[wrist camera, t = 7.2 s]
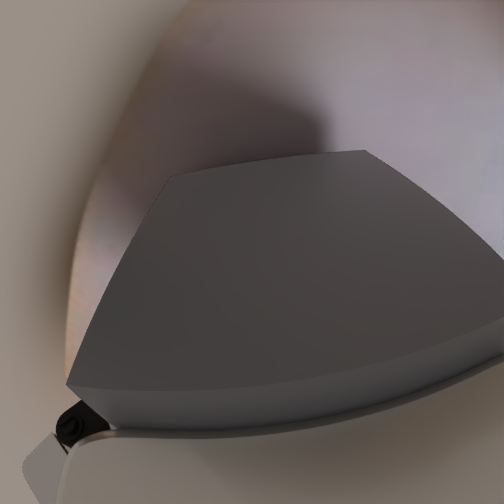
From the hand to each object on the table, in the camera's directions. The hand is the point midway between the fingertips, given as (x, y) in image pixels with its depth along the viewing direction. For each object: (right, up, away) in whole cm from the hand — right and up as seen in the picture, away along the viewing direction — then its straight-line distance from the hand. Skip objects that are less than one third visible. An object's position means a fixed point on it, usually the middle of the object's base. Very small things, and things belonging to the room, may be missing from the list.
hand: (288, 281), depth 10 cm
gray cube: (0, +1, +2) cm, 2 cm away
